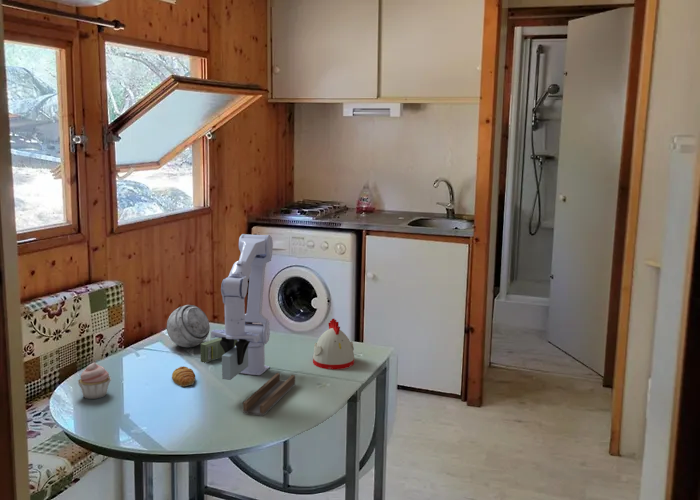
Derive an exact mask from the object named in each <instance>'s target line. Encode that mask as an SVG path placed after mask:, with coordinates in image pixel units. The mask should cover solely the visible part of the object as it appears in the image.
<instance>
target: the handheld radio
mask: <svg viewBox="0 0 700 500" xmlns="http://www.w3.org/2000/svg"><path fill="white" fill-rule="evenodd" d="M221 339H222V338H217V337H216V338H213V339H211V340H208V341H205V342H204V341H203V342H202V343H200V362H201V363H203V362H204V363H205V362H206V363H209V362H211V360H212V361H215V360H217V359H219V358H221V359H222V355H224V354H225V352H224V349H223V348H222V346H221V345H220V341H221ZM236 342H238V341H237V340H234V347H235V346H236V345H235V343H236Z"/></svg>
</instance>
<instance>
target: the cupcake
mask: <svg viewBox="0 0 700 500" xmlns="http://www.w3.org/2000/svg"><path fill="white" fill-rule="evenodd" d="M111 381H112V378H111V375H110V374H109V372H108V371H107V369H105V367H103V366H102V365H99V364H97V363H96V362H92V363H90V364H88V365H87V366H86V368H85V369H84V370H83V371H82V372H81V374H80V379H78V380H77V384H78V386H79V387H80V390H81V392H82V396H83V397H84V398H85V399H88V400H96V399H101V398H103V397H105V396H106V395H107V393H108V389H109V385H110V383H111Z"/></svg>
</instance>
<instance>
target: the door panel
mask: <svg viewBox="0 0 700 500" xmlns="http://www.w3.org/2000/svg"><path fill="white" fill-rule="evenodd" d="M247 367H248V347H247V349H246V352H245V355H244V359H243V363H242V364H241V365H238V362H237V349H236V346H235V347H234V348H232V349H231V350H229V351H228V352H226V353H225V354H224V355H222V357H221V372H222V374H221V376H222V377H221V378H222V380H228V381H231V380H233V379H234V378H235V377H236V376H238V375H239V374H241V373H240V372H241V371H243V370H244V369H245V368H247Z"/></svg>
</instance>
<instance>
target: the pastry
mask: <svg viewBox="0 0 700 500" xmlns="http://www.w3.org/2000/svg"><path fill="white" fill-rule="evenodd" d="M171 380H172V381H173V383H174V384H176V385H177V386H180V387H187V386H192V385H194V383H195V382H196V374H195V371H194V370H193V369H192V368H189V367H187V366H179V367H177V368H175V369H174V370H173V372H172V374H171Z"/></svg>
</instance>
